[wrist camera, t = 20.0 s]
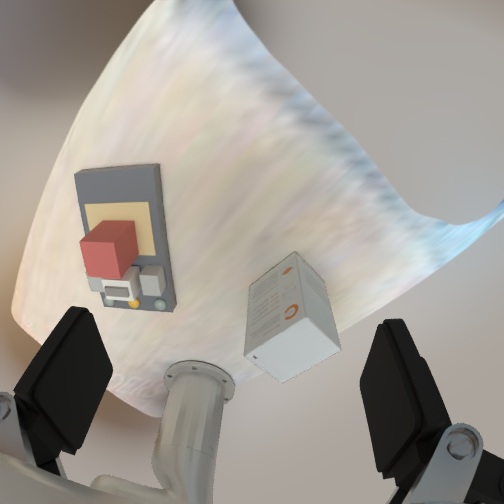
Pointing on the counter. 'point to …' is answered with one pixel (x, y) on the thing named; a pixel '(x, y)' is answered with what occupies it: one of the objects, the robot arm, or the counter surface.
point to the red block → (110, 249)
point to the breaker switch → (123, 285)
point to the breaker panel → (146, 225)
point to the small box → (289, 320)
